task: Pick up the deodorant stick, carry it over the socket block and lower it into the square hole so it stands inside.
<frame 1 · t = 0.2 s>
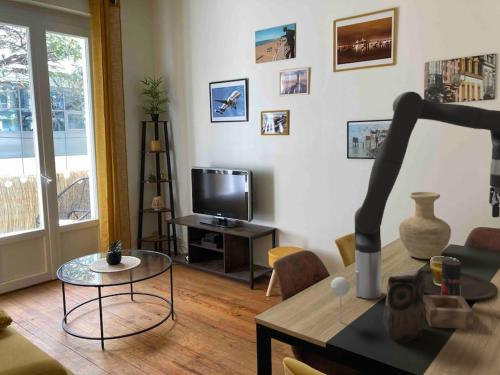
vase: (424, 257, 195), on the table
socket block: (446, 319, 133), on the table
lollipop: (340, 322, 134), on the table
owl: (401, 331, 126), on the table
deodorant: (450, 304, 143), on the table
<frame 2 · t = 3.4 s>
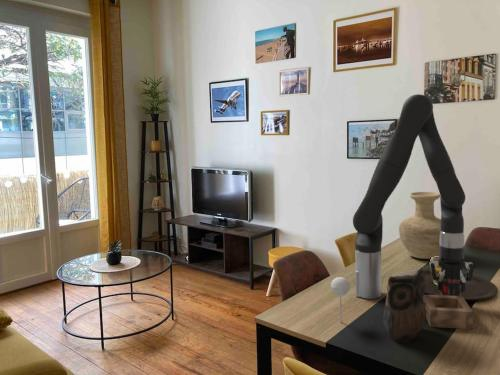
hand: (450, 291, 143), 5 cm above the table, fingers closed on deodorant, 6 cm apart
deodorant: (450, 304, 143), on the table, touching gripper
everything else where it was.
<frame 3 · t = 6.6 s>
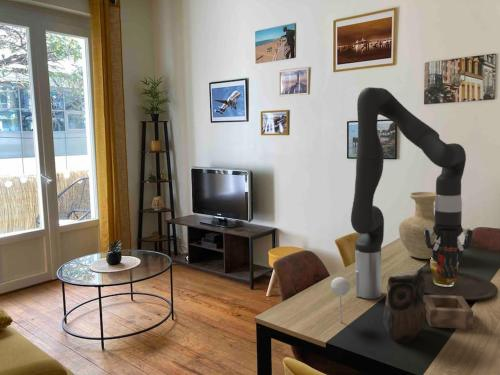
hand: (447, 261, 130), 19 cm above the table, fingers closed on deodorant, 6 cm apart
deodorant: (446, 275, 131), point 14 cm above the table, touching gripper
everything else where it was.
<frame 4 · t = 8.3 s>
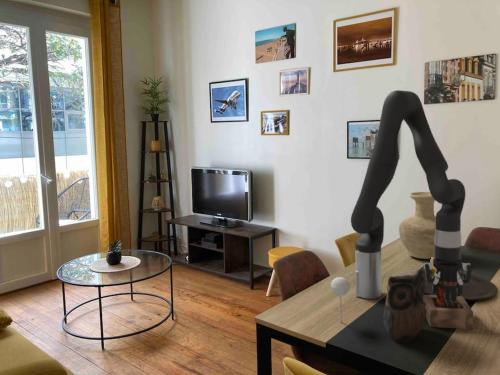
hand: (447, 294, 132), 8 cm above the table, fingers closed on deodorant, 6 cm apart
deodorant: (446, 309, 132), point 3 cm above the table, touching gripper
everything else where it was.
when the fingers open (7 cm above the table, at t = 9.6 s): deodorant drops 2 cm, resting in socket block.
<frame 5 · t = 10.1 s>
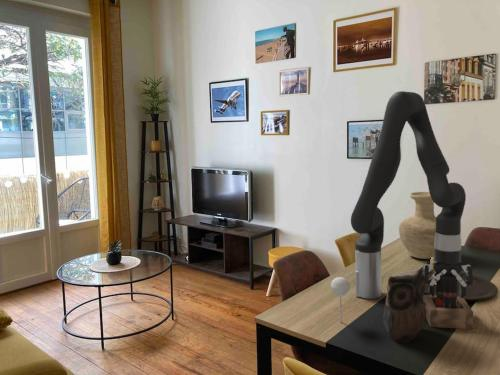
hand: (446, 296, 132), 8 cm above the table, fingers open, 8 cm apart
deodorant: (446, 319, 133), resting in socket block
everything else where it was.
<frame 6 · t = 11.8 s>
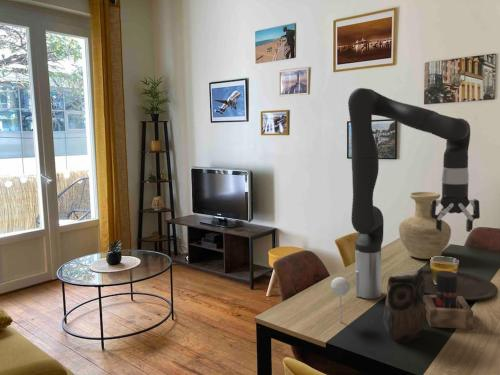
hand: (453, 231, 135), 27 cm above the table, fingers open, 8 cm apart
nothing on the table moved.
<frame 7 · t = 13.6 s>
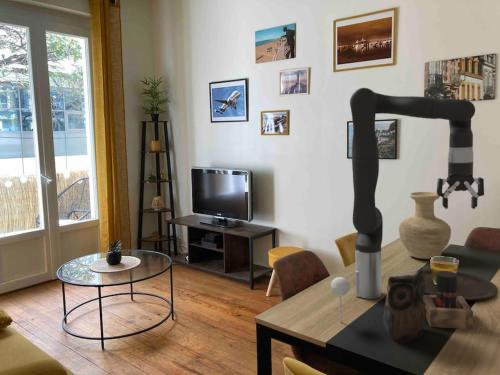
hand: (459, 208, 141), 33 cm above the table, fingers open, 8 cm apart
nothing on the table moved.
at the end: deodorant 0.1 cm off-centre on the socket block, point 0.0 cm above the socket block's base; deodorant tilted 0°; the gripper is holding nothing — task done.
